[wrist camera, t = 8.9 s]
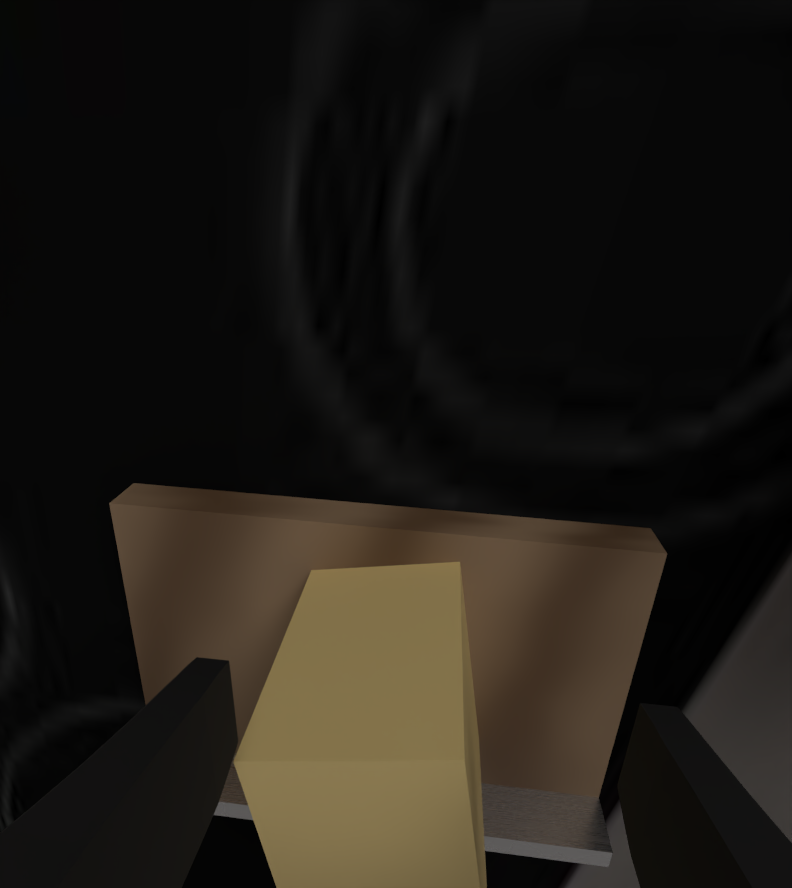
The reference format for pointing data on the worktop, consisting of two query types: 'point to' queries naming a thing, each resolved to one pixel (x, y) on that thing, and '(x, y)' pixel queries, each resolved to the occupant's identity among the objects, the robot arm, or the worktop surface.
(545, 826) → the rail
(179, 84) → the worktop surface
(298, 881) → the box
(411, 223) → the worktop surface
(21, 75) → the worktop surface
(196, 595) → the shelf board
